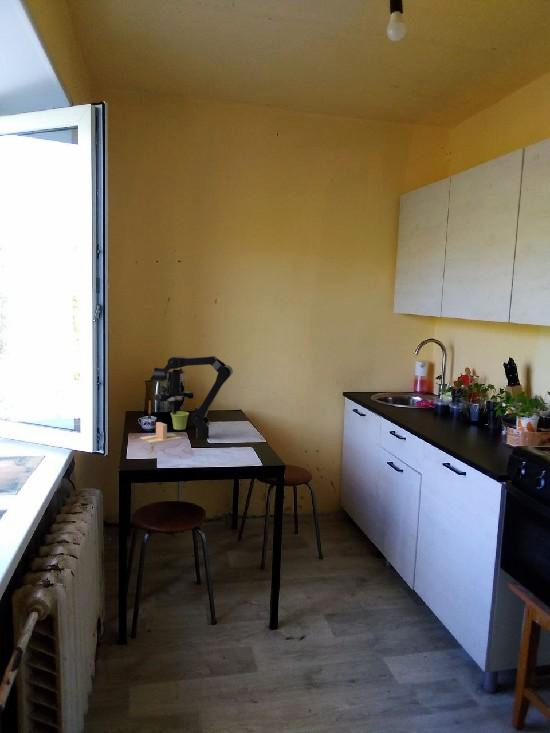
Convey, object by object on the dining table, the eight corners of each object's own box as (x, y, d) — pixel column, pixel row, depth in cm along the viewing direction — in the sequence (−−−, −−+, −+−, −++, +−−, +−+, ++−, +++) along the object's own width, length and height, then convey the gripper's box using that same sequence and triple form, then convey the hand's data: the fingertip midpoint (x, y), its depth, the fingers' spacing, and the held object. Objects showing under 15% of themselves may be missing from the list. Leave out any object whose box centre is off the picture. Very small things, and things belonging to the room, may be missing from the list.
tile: (166, 439, 261) (166, 424, 260) (162, 439, 260) (163, 425, 259) (159, 435, 267) (159, 421, 266) (155, 436, 265) (156, 422, 264)
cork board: (183, 439, 264) (183, 437, 264) (151, 444, 253) (151, 443, 253) (170, 434, 273) (170, 432, 273) (139, 439, 262) (139, 437, 262)
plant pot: (191, 431, 281) (191, 414, 280) (173, 432, 277) (173, 415, 276) (185, 427, 290) (186, 411, 288) (168, 428, 286) (168, 412, 284)
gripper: (183, 378, 276) (182, 408, 278) (149, 381, 265) (149, 412, 267) (194, 381, 268) (194, 412, 270) (160, 384, 256) (160, 417, 258)
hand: (174, 413), depth 266 cm, fingers closed
